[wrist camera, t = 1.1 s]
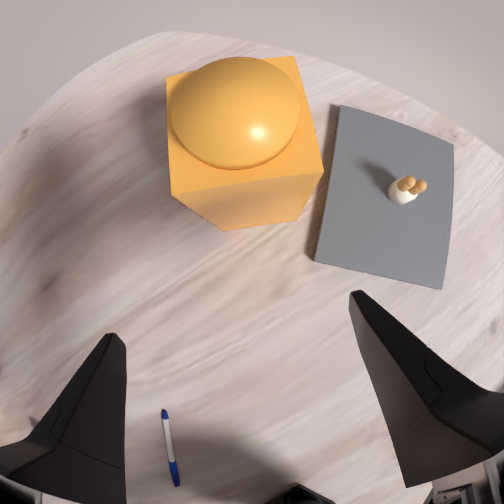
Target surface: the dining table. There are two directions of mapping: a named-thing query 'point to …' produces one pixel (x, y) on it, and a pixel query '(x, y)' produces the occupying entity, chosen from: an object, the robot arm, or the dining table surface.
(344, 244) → the plain gray block
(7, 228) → the dining table surface
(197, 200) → the orange knob block
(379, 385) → the robot arm
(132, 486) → the dining table surface
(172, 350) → the dining table surface
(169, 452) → the ballpoint pen
